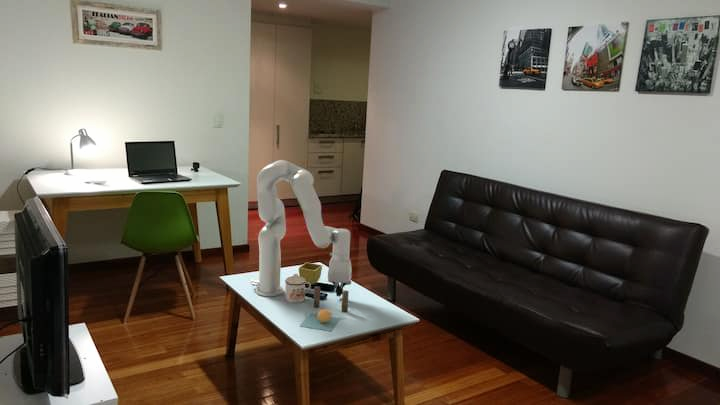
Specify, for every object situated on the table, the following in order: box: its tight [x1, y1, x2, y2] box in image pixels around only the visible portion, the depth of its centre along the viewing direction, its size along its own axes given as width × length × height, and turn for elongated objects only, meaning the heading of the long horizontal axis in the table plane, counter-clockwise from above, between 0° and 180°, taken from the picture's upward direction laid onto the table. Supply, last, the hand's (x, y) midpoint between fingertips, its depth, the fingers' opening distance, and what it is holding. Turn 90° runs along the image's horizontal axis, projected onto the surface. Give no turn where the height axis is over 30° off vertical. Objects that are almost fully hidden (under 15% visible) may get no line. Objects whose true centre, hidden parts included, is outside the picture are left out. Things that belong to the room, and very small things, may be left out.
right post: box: [341, 289, 349, 314], centre depth 238 cm, size 3×3×9 cm
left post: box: [313, 286, 321, 309], centre depth 240 cm, size 3×3×9 cm
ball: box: [317, 308, 332, 323], centre depth 226 cm, size 6×6×6 cm
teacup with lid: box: [284, 273, 312, 304], centre depth 248 cm, size 12×9×12 cm
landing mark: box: [299, 313, 341, 332], centre depth 227 cm, size 13×13×1 cm
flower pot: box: [298, 262, 323, 284], centre depth 267 cm, size 9×9×9 cm
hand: (339, 295), depth 252 cm, fingers closed
